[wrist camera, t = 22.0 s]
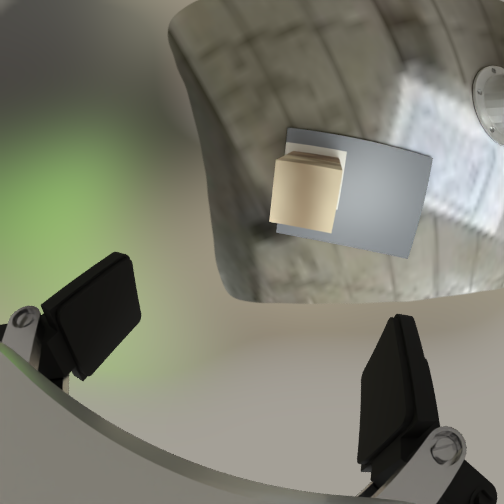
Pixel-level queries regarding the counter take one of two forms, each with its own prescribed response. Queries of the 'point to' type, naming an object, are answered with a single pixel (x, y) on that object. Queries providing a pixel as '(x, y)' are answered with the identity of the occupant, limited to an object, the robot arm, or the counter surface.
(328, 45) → the counter surface
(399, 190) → the build board
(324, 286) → the counter surface
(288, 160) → the maple block
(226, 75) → the counter surface
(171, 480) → the robot arm
